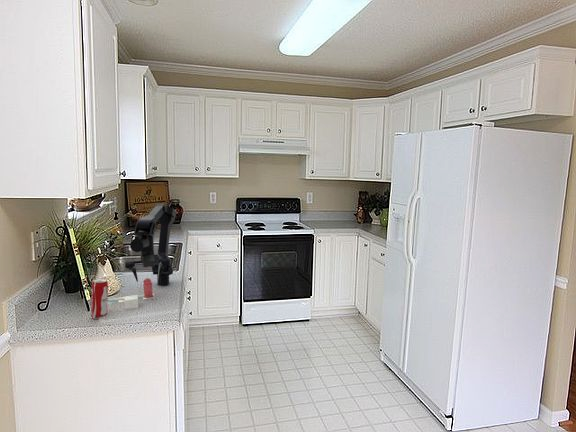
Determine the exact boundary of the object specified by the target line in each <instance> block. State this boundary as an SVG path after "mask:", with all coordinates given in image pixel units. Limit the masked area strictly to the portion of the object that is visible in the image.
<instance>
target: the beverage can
mask: <svg viewBox="0 0 576 432" xmlns="http://www.w3.org/2000/svg"><path fill="white" fill-rule="evenodd" d="M108 285H109V283H108V280H107V279H106V278H96V279H93V280H92V283H91V294H90V295H91V298H90V299H91V302H90V306H91V307H90V317H91V319H95V320H99V318H101V317H104V316H106V315H108V304H107V299H108V295H109V294H108V292H109V291H108V290H109V286H108Z"/></svg>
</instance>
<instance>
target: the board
mask: <svg viewBox="0 0 576 432" xmlns="http://www.w3.org/2000/svg"><path fill="white" fill-rule="evenodd" d="M136 295H137V294H136ZM124 297H125V296H122V297H115V298H114V297H113V298H107V305H110V304H117V303H125V301H124ZM137 297H138V301H140V300H141V301H142V300H149V299H155V298H156V297H155V294H154V293H153V296H152V297H149V298H145V297H144V294H140V295H139V294H138V295H137Z"/></svg>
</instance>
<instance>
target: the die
mask: <svg viewBox="0 0 576 432" xmlns="http://www.w3.org/2000/svg"><path fill="white" fill-rule="evenodd" d="M123 297H124V301H125V302H124V309H125V310H134V309H138V308H139V300H138V297H137V294H134V295H126V296H123Z"/></svg>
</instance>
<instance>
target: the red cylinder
mask: <svg viewBox="0 0 576 432" xmlns="http://www.w3.org/2000/svg"><path fill="white" fill-rule="evenodd" d="M142 285H143V295H144V297H145V298H149V297H152V296H153V294H154V293H153V282H152V279H150V278H149V277H148V278H144V280H143V284H142Z"/></svg>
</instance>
